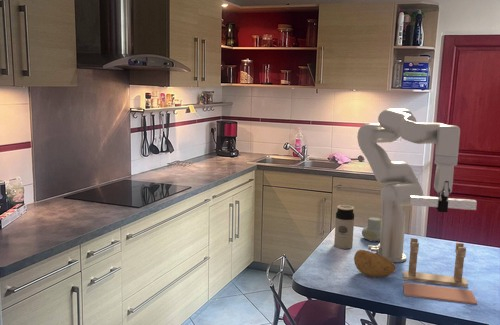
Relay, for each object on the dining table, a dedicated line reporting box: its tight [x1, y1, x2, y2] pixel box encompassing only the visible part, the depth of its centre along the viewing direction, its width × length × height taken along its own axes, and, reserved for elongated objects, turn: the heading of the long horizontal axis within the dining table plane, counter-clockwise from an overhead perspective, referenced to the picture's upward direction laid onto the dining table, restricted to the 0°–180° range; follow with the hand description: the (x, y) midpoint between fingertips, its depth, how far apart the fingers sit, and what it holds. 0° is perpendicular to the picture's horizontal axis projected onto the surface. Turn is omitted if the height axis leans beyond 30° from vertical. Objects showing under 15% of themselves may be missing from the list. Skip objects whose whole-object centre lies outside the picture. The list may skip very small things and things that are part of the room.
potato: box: [353, 249, 397, 278], centre depth 180 cm, size 9×16×9 cm, turn 53°
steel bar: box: [409, 195, 478, 211], centre depth 172 cm, size 22×3×3 cm, turn 76°
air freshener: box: [361, 216, 381, 242], centre depth 223 cm, size 11×8×10 cm
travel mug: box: [333, 204, 355, 250], centre depth 212 cm, size 8×8×18 cm
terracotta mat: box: [402, 282, 478, 305], centre depth 166 cm, size 23×10×1 cm, turn 76°
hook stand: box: [402, 237, 469, 288], centre depth 177 cm, size 22×6×14 cm, turn 76°
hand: (441, 210), depth 172 cm, fingers closed on steel bar, 3 cm apart
